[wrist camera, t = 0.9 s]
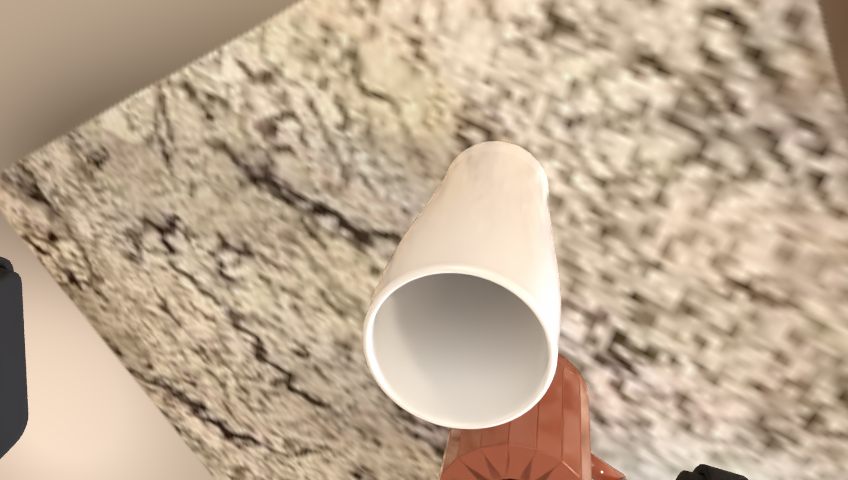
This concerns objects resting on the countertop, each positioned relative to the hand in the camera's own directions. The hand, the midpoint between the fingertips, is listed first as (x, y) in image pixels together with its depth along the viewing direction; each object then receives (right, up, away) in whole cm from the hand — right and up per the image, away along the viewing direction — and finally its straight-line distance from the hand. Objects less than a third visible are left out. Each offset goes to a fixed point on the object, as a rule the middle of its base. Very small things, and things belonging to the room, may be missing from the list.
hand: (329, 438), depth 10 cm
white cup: (+5, +6, +28) cm, 29 cm away
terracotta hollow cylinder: (+9, -8, +33) cm, 35 cm away
